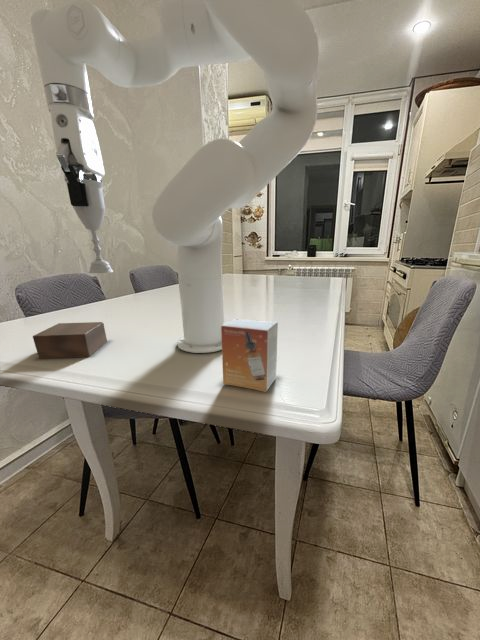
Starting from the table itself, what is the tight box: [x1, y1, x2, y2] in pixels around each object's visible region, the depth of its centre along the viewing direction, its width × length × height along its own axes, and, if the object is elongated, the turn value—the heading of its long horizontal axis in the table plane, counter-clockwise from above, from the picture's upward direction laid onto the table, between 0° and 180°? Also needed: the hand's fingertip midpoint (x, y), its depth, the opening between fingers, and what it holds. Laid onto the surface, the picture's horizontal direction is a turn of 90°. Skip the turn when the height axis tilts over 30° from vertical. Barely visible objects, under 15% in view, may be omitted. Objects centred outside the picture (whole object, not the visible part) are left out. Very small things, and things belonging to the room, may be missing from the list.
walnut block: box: [32, 321, 108, 360], centre depth 65 cm, size 10×10×5 cm
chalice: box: [64, 178, 115, 274], centre depth 63 cm, size 7×7×18 cm
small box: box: [221, 317, 279, 393], centre depth 49 cm, size 8×6×10 cm
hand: (89, 207), depth 62 cm, fingers closed on chalice, 7 cm apart
